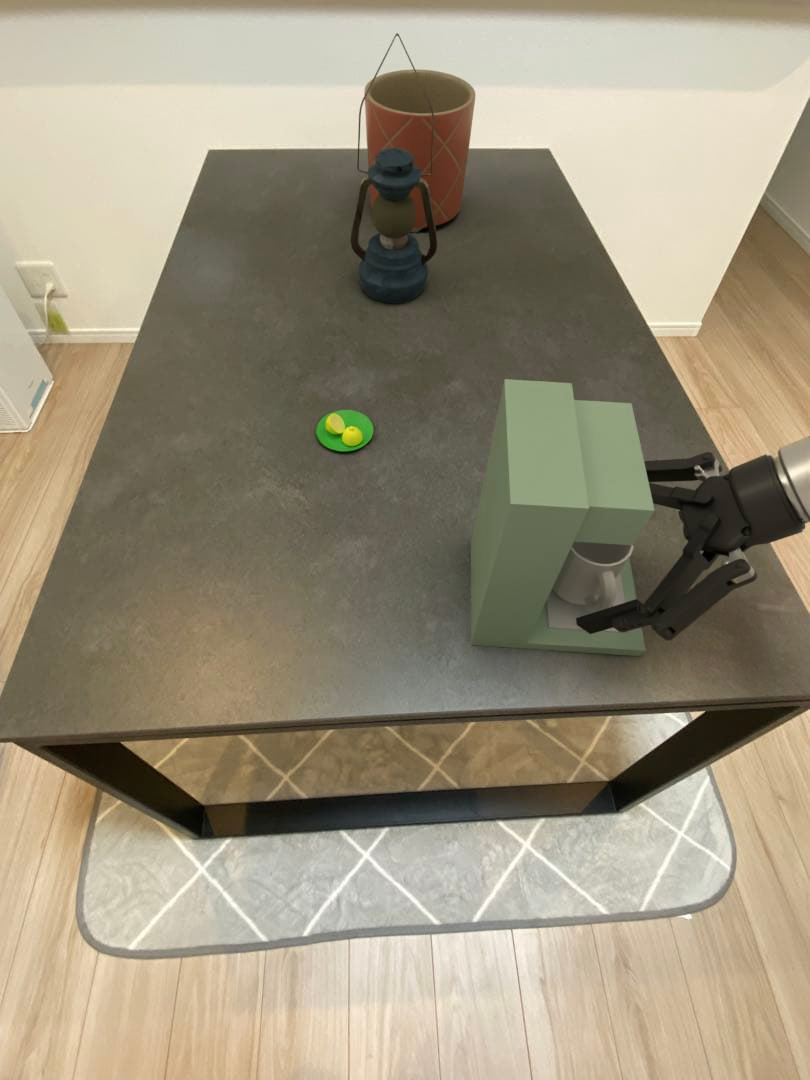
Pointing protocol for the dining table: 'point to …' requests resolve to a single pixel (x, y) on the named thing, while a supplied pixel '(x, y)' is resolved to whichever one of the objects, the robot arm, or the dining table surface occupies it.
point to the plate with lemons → (344, 430)
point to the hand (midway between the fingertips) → (575, 569)
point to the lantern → (394, 223)
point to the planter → (423, 133)
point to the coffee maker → (554, 516)
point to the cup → (591, 574)
